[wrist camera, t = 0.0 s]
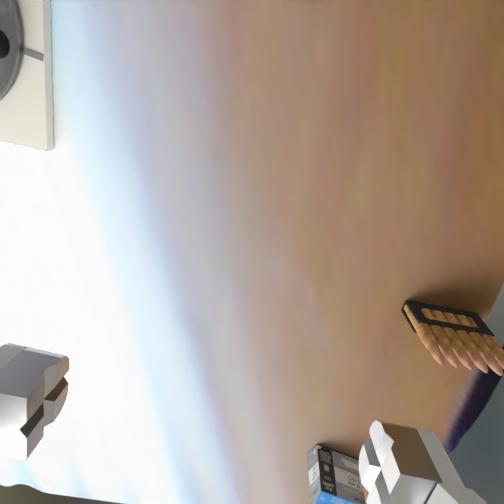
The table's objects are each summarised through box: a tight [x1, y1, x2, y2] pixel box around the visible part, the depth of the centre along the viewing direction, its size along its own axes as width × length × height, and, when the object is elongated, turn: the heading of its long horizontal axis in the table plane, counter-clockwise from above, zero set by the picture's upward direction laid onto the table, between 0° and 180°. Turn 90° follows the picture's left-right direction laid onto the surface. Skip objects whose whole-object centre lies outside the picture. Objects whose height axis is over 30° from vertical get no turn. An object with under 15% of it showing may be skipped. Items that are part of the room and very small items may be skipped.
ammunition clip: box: [401, 300, 504, 376], centre depth 48 cm, size 11×2×12 cm, turn 80°
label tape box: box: [308, 445, 366, 504], centre depth 62 cm, size 9×4×12 cm, turn 65°
